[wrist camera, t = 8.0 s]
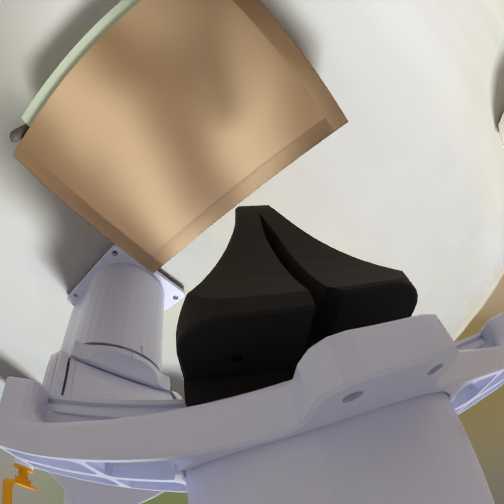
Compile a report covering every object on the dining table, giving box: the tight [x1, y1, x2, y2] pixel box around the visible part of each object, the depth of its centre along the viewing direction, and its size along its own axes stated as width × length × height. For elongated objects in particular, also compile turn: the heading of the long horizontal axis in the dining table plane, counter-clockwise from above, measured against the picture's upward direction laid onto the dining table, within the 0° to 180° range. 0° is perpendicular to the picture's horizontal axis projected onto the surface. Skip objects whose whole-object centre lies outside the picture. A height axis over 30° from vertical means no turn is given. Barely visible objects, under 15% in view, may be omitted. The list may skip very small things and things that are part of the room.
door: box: [21, 0, 141, 127], centre depth 12 cm, size 13×1×5 cm, turn 127°
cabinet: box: [10, 0, 348, 273], centre depth 15 cm, size 15×13×5 cm
